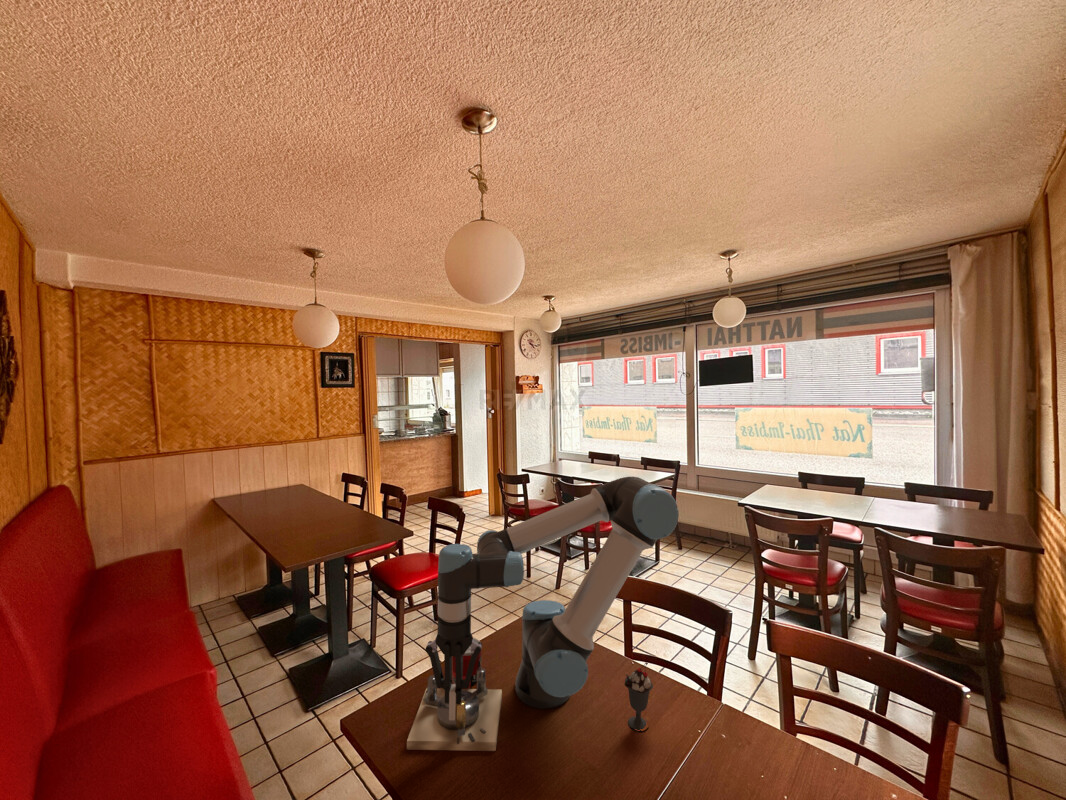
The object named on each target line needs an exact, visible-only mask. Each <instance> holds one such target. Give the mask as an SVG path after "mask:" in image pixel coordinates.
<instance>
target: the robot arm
mask: <svg viewBox="0 0 1066 800" xmlns="http://www.w3.org/2000/svg"><path fill="white" fill-rule="evenodd" d="M679 514H680V513H679V507H678V503H677V501H676V499H675V498H674V496H673V495H672V494H671V493H670V492H668V491H667V490H665V488H663V487H661V486H659V485H657V484H654V483H652V482H649V481H647V480H645V479H644V478H640V477H638V476H625V477H624V476H623V477H621V478H617V479H613V480H611V481H609V482H606V483H604V484H601V485H598V486H596V487H594V488H592V489H591V491H590V494H587V495H585V496H581V497H579V498H577V499H575V500H572V501H569V502H567V503H565V504H563V505H560V506H558V507H555V508H552V509H550V510H549V511H546V512H543V513H541V514H538V515H536V516H534V517H531V518H528V519H526V520H524V521H522V522H519V523H516V524H514V525H512V526H509V527H507V528H504V529H502V530H500V531H499V530H498V531H496V530H486V531H485V532H483V533H481V534H480V536H479V537H478V540H477V544H476V545H477V548H476V550H477V553H473V550H472V547H470V546H469V545H468V544H464V543H463V544H460V543H451V544H448V545H445V546H444V547H442V548H441V549H440V551H439V552H438V562H437V563H438V567H437V615H438V616H437V634H436V637H435V639H434V640H429V641H428V643H427V645H426V647H425V649H424V651H425V652H426V654H427V655H428V656H429V660H430V664H431V668H432V672H433V675H434V677H435V681H436V686H437V689H444V690H445V703H446V704H449V720H455V719H456V704H460V703H461V700H462V689H464V688H465V689H467V688H468V687H469V684H470V680H471V676H472V672H473V668H474V665H475V661H476V658H477V656H478V655H479V653H480V652H481V648H483V643H482V642H481V641H480V642H478V643H477V642H475V641H474V640H473V638H474V637H473V634H472V630H471V629H472V615H471V612H472V590H473V589H474V590H478V589H489V588H490V589H491V588H493V589H494V588H509V587H513V586H520V585H521V584H522V583H523V581H524V576H525V568H524V567H525V564H524V558H523V554H525V553H527V552H529V551H532V550H534V549H537V548H538V547H541V546H544V545H546V544H548V543H551V542H553V541H555V540H557V539H560V538H562V537H566V536H567V535H569V534H572V533H574V532H576V531H580V530H581V529H585V528H586V527H588V526H591V525H593V524H596V523H598V522H600V521H603V522H605V523H608V522H610V524H611V527H612V530H611V532H610V533H609V534H608V535H609V536H607V539H606V540H605V542H604V544H603V545H602V547H601V549H600V550H599V552H598V554H597V556H596V557H595V559H594V561H593V562H592V564H591V566H590V567H589V568H588V571H586V572H587V573H586V574H585V575H584V577H583V579H582V580H581V583H580V584H579V585H578V587H577V589H576V591H575V593H574V594H573V596H572V598H571V599H570V600H569V602H568V604H567V606H566V607H565V606H564V604H563V603H561V602H559V601H556V600H555V601H554V600H550V599H549V600H547V599H545V600H544V599H543V600H541V599H540V600H535V601H531V602H529V603H527V604H526V605H525V606H524V607H523V609H522V616H521V619H522V639H521V640H522V641H521V643H522V645H521V651H522V652H521V653H522V654H521V658H522V659H521V661H520V665H519V669H518V672H517V674H516V677H515V694H516V696H517V697H518V699H519V700H520V701H521V702H523V703H524V704H526V705H527V706H529V707H531V708H536V709H541V710H542V709H554V708H556V707H560V706H561V705H563V704H564V703H566V702H567V701H568V700H569V698H571V696H572V695H574V694H576V693H578V692H579V691H580V690H581V689H582V688H583V687H584V686H585V684H586V683H587V679H588V677H589V667H588V663H587V661H588V659H589V658H590V656H591V654H592V653H593V651H594V649H595V643H594V640H593V638H594V635H595V634H596V632H597V630H598V628H600V627H599V626H600V625H601V623H602V622H603V620H604V618H605V616H606V615H607V613H608V611H609V610H610V608H611V606H612V604H613V603H614V601H615V599H616V598H617V596H618V594H619V592H620V591H621V589H622V588H623V586H624V584H625V582H626V580H627V578H628V577H629V576H630V575H631V572H632V571H633V569H634V567H635V565H636V564H637V562H638V560H639V558H640V557H641V556H642V555H641V554H642V553H643V551H644V550H649V549H653V547H655V544H656V543H657V541H658V540H662V539H663V538H667V537H668V536H670V535H671V534H672V533H673V531H675V529H676V527H677V524H678V522H679ZM470 646H471V652H472V655H471V659H470V663H469V666H468V670H467V674H466V678H465V679H463V654H464V653H465V652H466V651H467V649H468V648H469V647H470ZM438 649H439V650H440V652H441V653H442V655H443V656H444V657H443V658H444V659H443V661H444V673H443V669H442V668H443V667H442V664H441V660H440V656H439V651H438ZM453 656H454V657H456V660H455V661H456V684H453Z"/></svg>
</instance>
